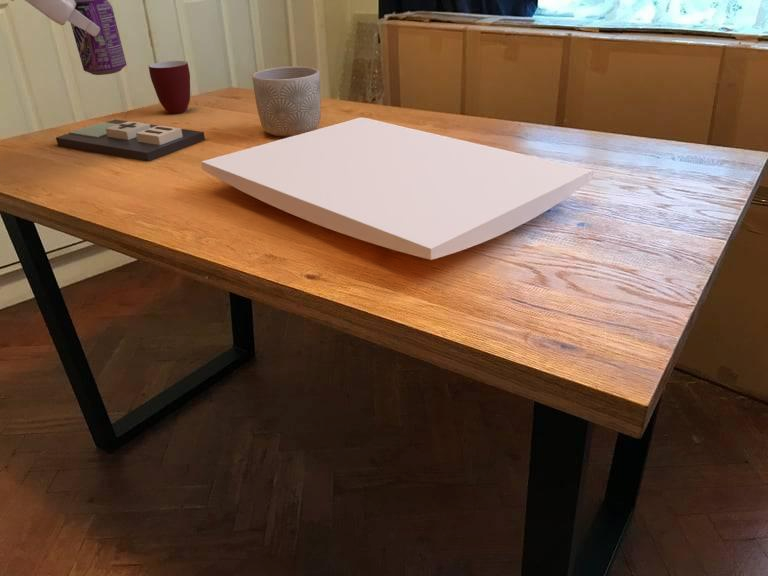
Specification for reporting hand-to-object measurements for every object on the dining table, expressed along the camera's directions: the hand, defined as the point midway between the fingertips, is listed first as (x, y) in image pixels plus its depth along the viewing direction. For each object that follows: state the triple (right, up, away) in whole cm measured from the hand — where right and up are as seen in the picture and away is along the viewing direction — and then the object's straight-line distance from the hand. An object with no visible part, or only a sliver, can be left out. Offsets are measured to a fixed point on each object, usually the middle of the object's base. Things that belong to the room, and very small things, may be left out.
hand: (99, 29), depth 112 cm
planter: (+31, -14, +15) cm, 37 cm away
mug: (+3, -5, +33) cm, 34 cm away
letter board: (+1, -17, +12) cm, 20 cm away
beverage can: (0, -6, +3) cm, 7 cm away
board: (+49, -31, -18) cm, 61 cm away
